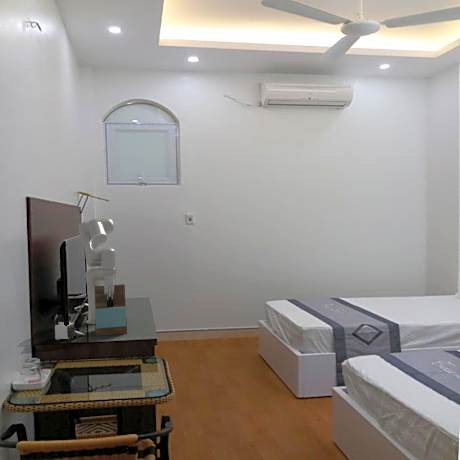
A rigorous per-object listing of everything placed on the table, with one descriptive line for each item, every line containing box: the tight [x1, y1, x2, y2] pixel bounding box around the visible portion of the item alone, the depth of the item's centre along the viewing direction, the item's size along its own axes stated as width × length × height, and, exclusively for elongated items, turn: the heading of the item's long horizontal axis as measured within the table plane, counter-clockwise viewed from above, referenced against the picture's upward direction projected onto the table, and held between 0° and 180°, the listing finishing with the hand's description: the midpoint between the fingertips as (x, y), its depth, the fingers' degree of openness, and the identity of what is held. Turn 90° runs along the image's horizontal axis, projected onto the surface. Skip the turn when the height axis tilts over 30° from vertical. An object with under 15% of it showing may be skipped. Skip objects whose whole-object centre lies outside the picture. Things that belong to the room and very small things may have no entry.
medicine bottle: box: [54, 314, 76, 340], centre depth 255 cm, size 7×7×12 cm
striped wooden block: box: [94, 283, 128, 337], centre depth 265 cm, size 15×16×24 cm
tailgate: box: [95, 306, 127, 329], centre depth 257 cm, size 1×15×10 cm, turn 104°
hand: (110, 307), depth 261 cm, fingers closed
